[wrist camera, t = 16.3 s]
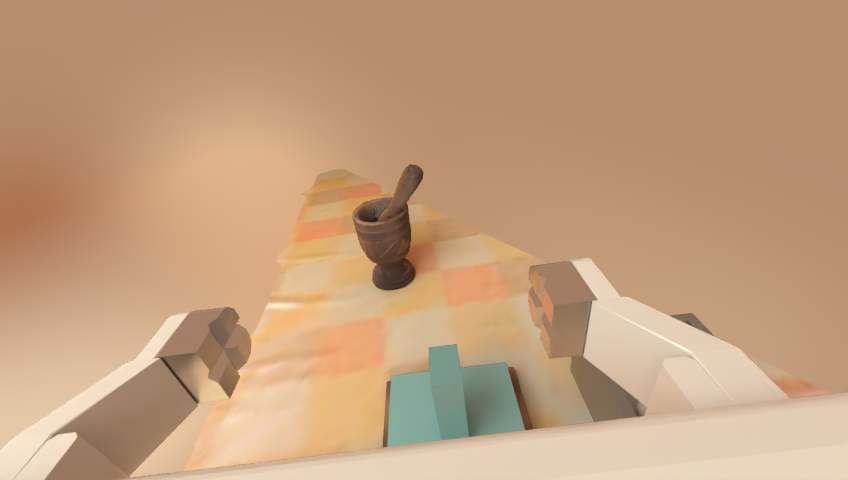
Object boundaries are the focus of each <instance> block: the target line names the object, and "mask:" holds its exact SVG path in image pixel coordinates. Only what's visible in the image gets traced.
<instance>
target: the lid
mask: <svg viewBox="0 0 848 480" xmlns="http://www.w3.org/2000/svg"><path fill="white" fill-rule="evenodd" d="M429 363H430V371H427V372H419V373H410V374H402V375H393V376H391V388H390V407H389V426H388V444H387V447H392V446H400V445H408V444H416V443H425V442H433V441H441V440H449V439H458V438H466V437H474V436H483V435H491V434H499V433H508V432H516V431H524V430H525V428H524V424H523V421H522V417H521V413H520V410H519V406H518V403H517V399H516V396H515V392H514V388H513V385H512V381H511V378H510V374H509V371H508V367H507V364H506V362H504V363H495V364H487V365H478V366H470V367H461V368H460V363H459V356H458V349H457V344H455V345H446V346H438V347H430V348H429Z"/></svg>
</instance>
